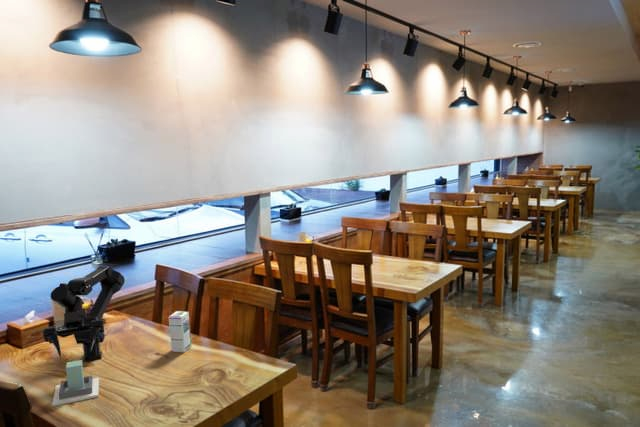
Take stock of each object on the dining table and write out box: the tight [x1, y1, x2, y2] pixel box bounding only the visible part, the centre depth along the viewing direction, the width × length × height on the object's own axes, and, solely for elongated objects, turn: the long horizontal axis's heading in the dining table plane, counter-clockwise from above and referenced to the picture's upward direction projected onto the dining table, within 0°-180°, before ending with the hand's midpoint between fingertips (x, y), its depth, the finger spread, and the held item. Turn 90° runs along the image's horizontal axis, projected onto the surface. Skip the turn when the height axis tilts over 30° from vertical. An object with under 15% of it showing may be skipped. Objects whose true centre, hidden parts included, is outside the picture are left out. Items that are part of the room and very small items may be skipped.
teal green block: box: [65, 359, 85, 391], centre depth 161 cm, size 4×4×9 cm
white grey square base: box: [52, 374, 100, 407], centre depth 162 cm, size 13×13×3 cm
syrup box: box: [168, 310, 192, 353], centre depth 193 cm, size 6×6×14 cm
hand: (75, 353), depth 167 cm, fingers open, 9 cm apart
